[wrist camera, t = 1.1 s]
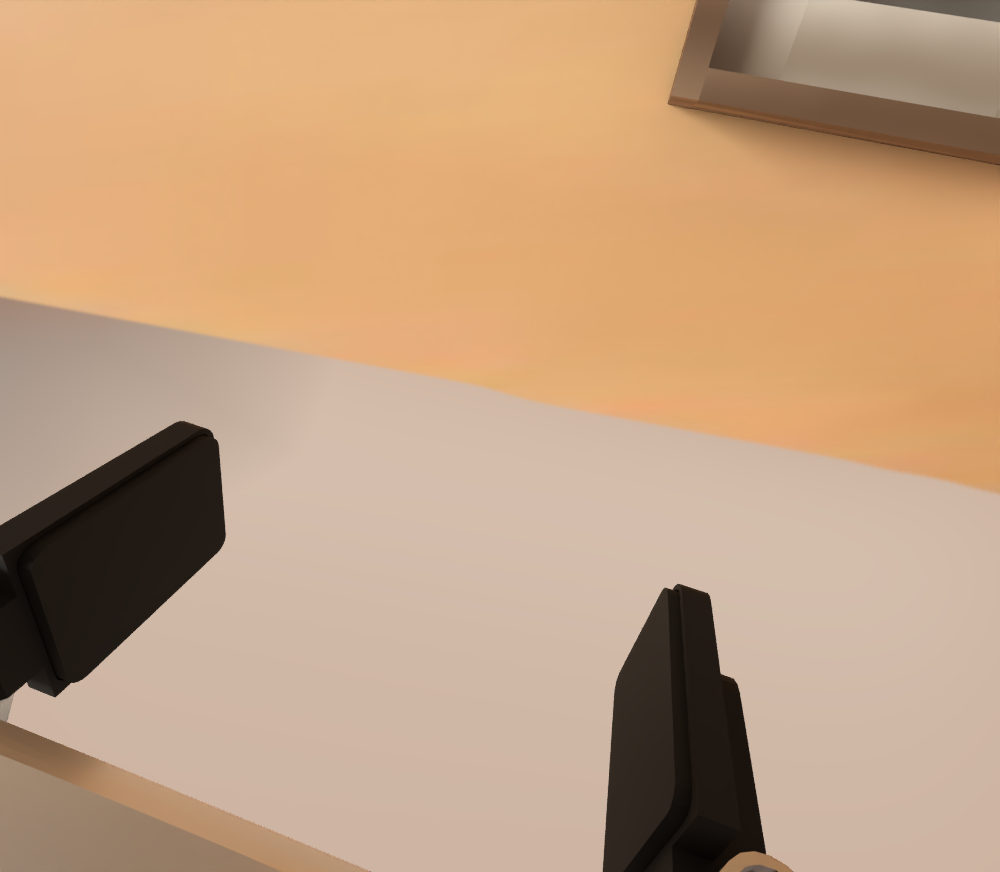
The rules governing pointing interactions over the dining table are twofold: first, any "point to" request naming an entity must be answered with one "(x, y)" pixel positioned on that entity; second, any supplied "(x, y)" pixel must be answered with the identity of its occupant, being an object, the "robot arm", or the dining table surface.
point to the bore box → (852, 69)
